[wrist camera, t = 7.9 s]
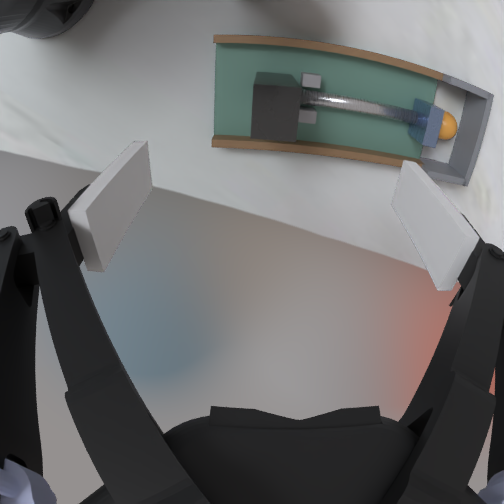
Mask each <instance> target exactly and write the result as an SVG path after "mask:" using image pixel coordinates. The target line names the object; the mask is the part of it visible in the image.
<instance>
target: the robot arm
mask: <svg viewBox="0 0 504 504" xmlns="http://www.w3.org/2000/svg"><path fill="white" fill-rule="evenodd" d="M93 1H94V0H0V34H2V33H6V32H13V33H16V34H19V35H22V36H25V37H28V38H36V39H37V38H46V37H51V36H55V35H58V34H60V33H62V32H64V31H66V30H68V29H69V28H71V27H72V26H73V25H74V24H76V23H77V22H78V21H79V20H80V19H81V18H82V17H83V15H84V14H85V13H86V12H87V10H88V9H89V8H90V6H91V4H92V3H93ZM152 188H153V187H152V179H151V170H150V162H149V152H148V142H147V141H134V142H132V143H131V144H130V145H129V146H128V147H127V148H126V149H125V150H124V151H123V152H122V153H121V154H120V155H119V156H118V157H117V158H116V159H115V160H114V161H113V162H112V163H111V164H110V165H109V166H108V167H107V168H106V169H105V170H104V171H103V172H102V173H101V174H100V175H99V176H98V178H96V180H95V181H94V182H93V183H92V184H89V185H87V186H86V187H84V188H83V189H81V190H80V191H79V192H78V193H77V194H76V195H75V196H74V198H72V199H71V201H70V202H69V203H68V204H67V205H66V206H65V208H64V209H63V210H62V211H61V212H60V210H59V206H58V203H57V200H56V199H55V198H54V197H45V198H42V199H39V200H37V201H35V202H33V203H32V204H31V205H30V206H28V208H27V209H26V210H25V216H26V218H27V221H28V224H29V227H30V229H31V232H32V233H31V234H27V235H22V236H20V235H19V233H18V230H17V228H16V227H14V226H10V227H6V228H2V229H1V230H0V504H56V501H57V499H56V496H55V494H54V493H53V492H52V490H51V489H50V486H49V484H48V483H47V482H46V480H45V479H44V478H43V465H42V464H43V462H42V450H41V441H40V433H39V424H38V414H37V403H36V402H37V401H36V382H35V381H36V380H35V340H36V320H37V307H38V296H39V286H40V289H41V294H42V299H43V304H44V308H45V312H46V317H47V321H48V325H49V328H50V332H51V336H52V340H53V343H54V347H55V349H56V353H57V356H58V360H59V363H60V366H61V369H62V372H63V375H64V378H65V381H66V383H67V387H68V391H67V392H65V399H66V402H67V405H68V408H69V410H70V413H71V415H72V418H73V420H74V423H75V425H76V428H77V430H78V432H79V434H80V437H81V438H82V441H83V443H84V445H85V448H86V450H87V452H88V454H89V455H90V458H91V460H92V462H93V464H94V466H95V468H96V470H97V472H98V473H99V475H100V477H101V479H102V481H103V482H104V485H103V486H101V487H100V488H99V489H98V490H96V491H95V492H94V493H93V494H91V495H90V496H89V497H87V498H86V499H85V500H83V501H82V502H81V503H79V504H504V252H503V251H502V250H501V249H499V248H498V247H497V246H495V245H493V244H489V243H486V244H485V242H484V241H483V240H482V238H481V237H480V236H479V234H478V233H477V232H476V230H475V229H473V226H472V225H471V224H470V223H469V221H468V220H467V219H466V217H465V216H464V215H463V214H462V213H460V212H459V210H458V209H457V208H456V207H455V206H454V204H453V203H452V202H451V201H450V200H449V198H448V197H447V196H446V195H445V194H444V193H443V191H442V190H441V189H440V188H439V187H438V186H437V185H436V183H435V182H434V181H433V180H432V179H431V178H430V177H429V176H428V175H427V174H426V173H425V171H424V170H423V169H422V168H421V167H420V166H419V165H418V164H417V163H416V162H412V161H407V160H404V161H403V164H402V168H401V172H400V175H399V179H398V182H397V186H396V189H395V193H394V196H393V199H392V203H391V205H392V207H393V209H394V210H395V212H396V214H397V215H398V217H399V219H400V220H401V222H402V224H403V226H404V227H405V229H406V231H407V233H408V234H409V236H410V238H411V240H412V242H413V243H414V245H415V247H416V249H417V251H418V253H419V255H420V256H421V258H422V260H423V262H424V264H425V266H426V268H427V270H428V272H429V274H430V276H431V278H432V280H433V282H434V284H435V286H436V288H437V290H440V291H441V290H442V291H445V290H446V291H451V290H452V288H453V287H454V285H455V283H456V281H457V280H458V281H459V283H460V284H461V287H460V289H459V291H458V292H457V294H456V296H455V297H454V299H453V300H452V302H451V303H450V305H449V306H452V305H453V307H452V309H451V312H450V315H449V318H448V320H447V323H446V326H445V328H444V331H443V333H442V336H441V338H440V341H439V343H438V346H437V348H436V350H435V353H434V356H433V357H432V360H431V362H430V364H429V366H428V369H427V371H426V373H425V375H424V377H423V379H422V381H421V383H420V385H419V387H418V389H417V391H416V393H415V395H414V397H413V399H412V401H411V403H410V404H409V406H408V408H407V410H406V412H405V413H404V415H403V416H402V418H401V419H400V420H399V422H397V421H395V420H392V419H390V418H386V417H382V416H380V410H379V406H371V407H359V408H346V409H345V408H344V409H339V410H335V411H332V412H329V413H325V414H322V415H318V416H315V417H311V418H307V419H303V420H295V419H291V418H286V417H282V416H278V415H274V414H271V413H267V412H263V411H259V410H256V409H244V408H229V407H217V406H211V410H210V416H206V417H200V418H196V419H192V420H189V421H187V422H184V423H182V424H180V425H178V426H176V427H174V428H172V429H171V430H169V431H168V432H166V433H165V434H163V432H162V430H161V429H160V427H159V426H158V424H157V423H156V421H155V420H154V418H153V417H152V415H151V413H150V412H149V410H148V409H147V407H146V405H145V404H144V402H143V400H142V398H141V397H140V395H139V394H138V392H137V390H136V388H135V386H134V384H133V383H132V381H131V379H130V377H129V375H128V374H127V372H126V370H125V368H124V366H123V364H122V362H121V360H120V358H119V356H118V354H117V352H116V350H115V348H114V346H113V344H112V342H111V340H110V338H109V336H108V334H107V332H106V330H105V327H104V325H103V323H102V321H101V319H100V316H99V314H98V312H97V309H96V307H95V305H94V302H93V300H92V298H91V295H90V293H89V290H88V288H87V285H86V283H85V280H84V278H83V275H82V273H81V270H80V267H79V266H80V264H81V263H82V261H83V259H84V262H85V265H86V267H87V270H88V271H96V272H105V270H106V268H107V266H108V264H109V262H110V261H111V259H112V257H113V255H114V253H115V251H116V249H117V248H118V246H119V244H120V242H121V240H122V239H123V237H124V235H125V233H126V231H127V230H128V228H129V226H130V225H131V223H132V221H133V220H134V218H135V216H136V215H137V213H138V211H139V210H140V208H141V206H142V205H143V203H144V201H145V200H146V198H147V197H148V195H149V193H150V192H151V190H152ZM494 369H495V396H494V395H493V394H491V393H489V389H490V385H491V381H492V377H493V373H494ZM493 413H494V415H493ZM492 417H493V426H492V435H491V443H490V451H489V459H488V475H487V486H486V488H484V489H482V490H480V492H479V493H478V495H477V494H476V493H475V492H474V491H473V490H472V489H471V488H470V487H469V486H468V482H469V480H470V478H471V476H472V473H473V471H474V468H475V466H476V463H477V461H478V458H479V456H480V453H481V450H482V448H483V445H484V442H485V439H486V436H487V433H488V430H489V427H490V424H491V420H492Z"/></svg>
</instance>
